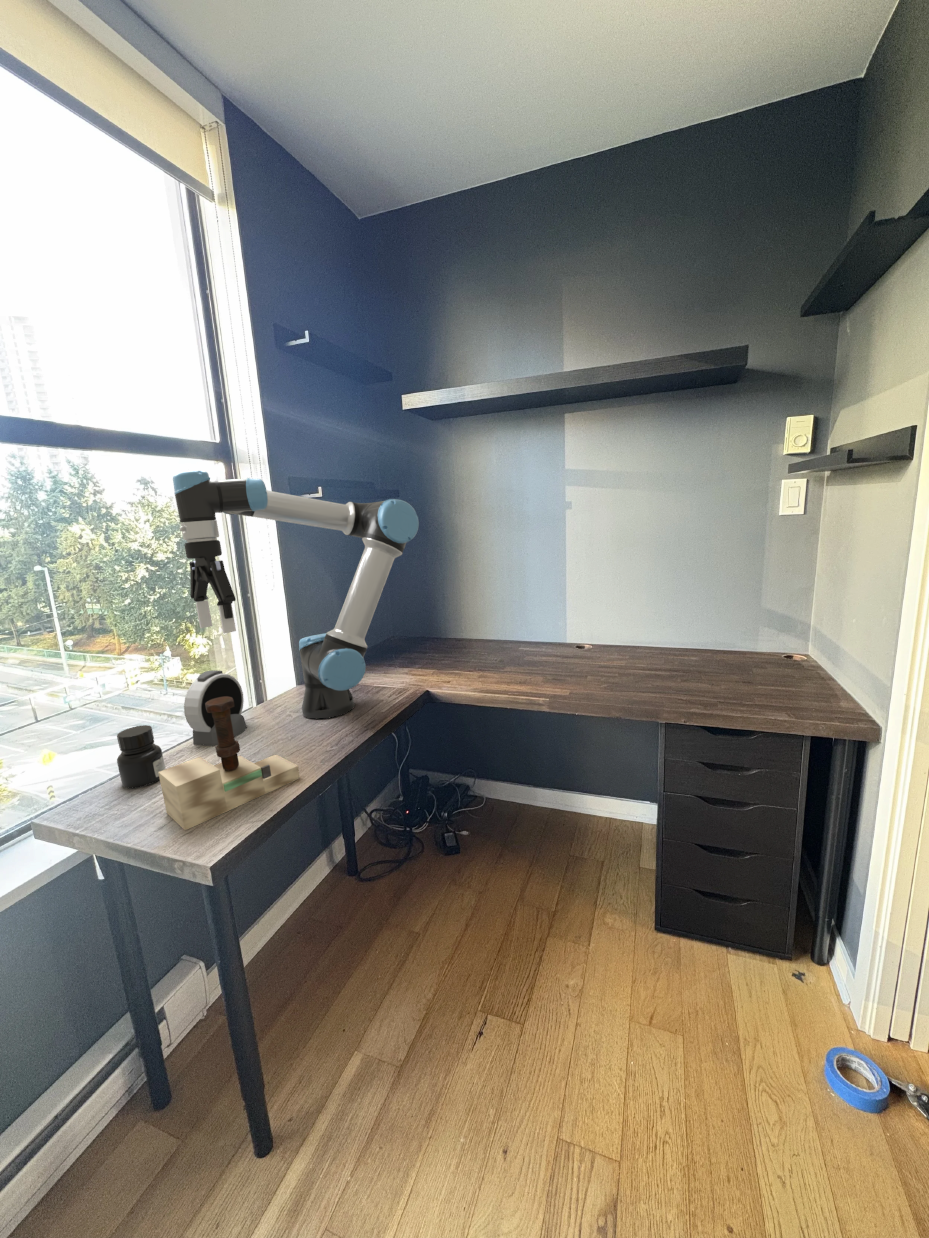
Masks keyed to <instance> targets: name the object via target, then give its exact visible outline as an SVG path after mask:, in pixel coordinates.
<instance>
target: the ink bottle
mask: <svg viewBox="0 0 929 1238" xmlns="http://www.w3.org/2000/svg"><path fill="white" fill-rule="evenodd" d="M116 738H117V744H118V747H119V751H120V753H119V755H118V757H117V759H116V764H117V767H118V772H119V773H118V774H119V775H120V776H119V777H120V782H121V785H122V786H123V787H124V788H125V789H138V788H142V787H145V786H149V785H152V784H154V783H156V782H158V781H159V782H160V778H159V774H158V772H160V771H162V770H165V769H166V764H165V759H164V755H163V751H162V747H160V745H157V744H156V743H155V736H154V732H153V727H152V725H144V724H143V725H137V726H133V727H129V728H127V729H123V730H121V731H120V732H119V733H117V734H116Z"/></svg>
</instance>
